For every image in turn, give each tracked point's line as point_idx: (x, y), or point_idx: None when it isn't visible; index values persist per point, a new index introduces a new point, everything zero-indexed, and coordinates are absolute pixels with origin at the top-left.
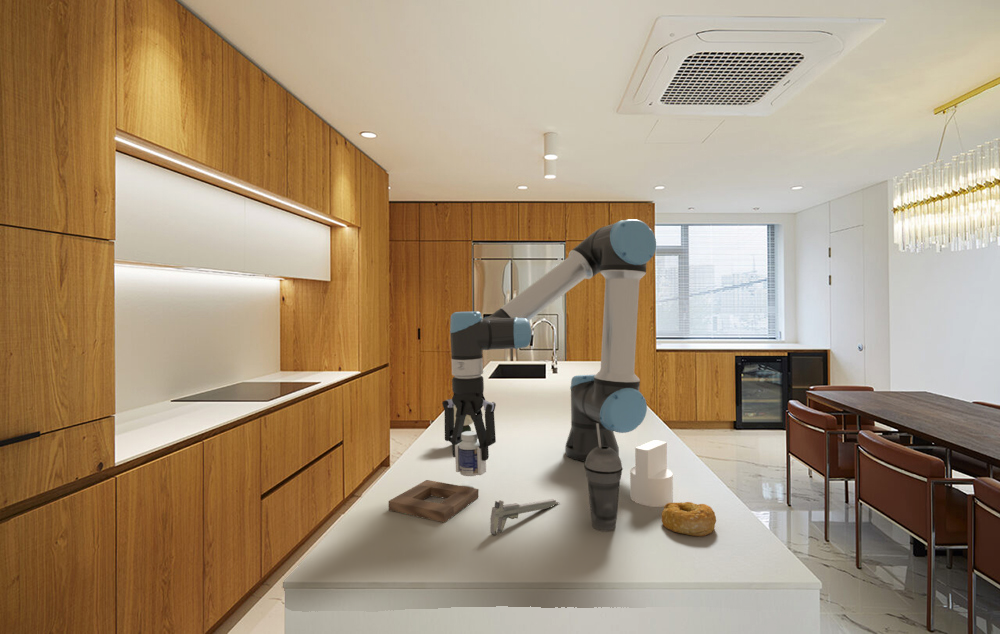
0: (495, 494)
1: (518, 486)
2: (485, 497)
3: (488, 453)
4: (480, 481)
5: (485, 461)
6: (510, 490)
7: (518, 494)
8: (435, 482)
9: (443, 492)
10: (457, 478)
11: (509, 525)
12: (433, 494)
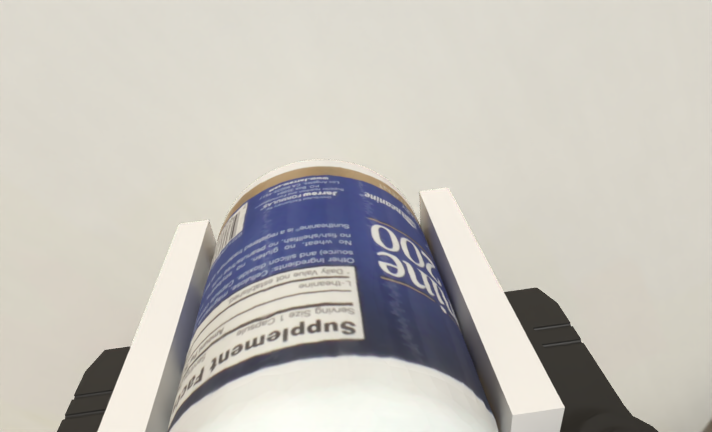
0: (550, 229)
1: (665, 22)
2: (511, 288)
3: (578, 336)
4: (333, 97)
5: (479, 251)
6: (624, 126)
7: (693, 155)
8: None
9: None
10: (124, 144)
11: (708, 414)
12: None
